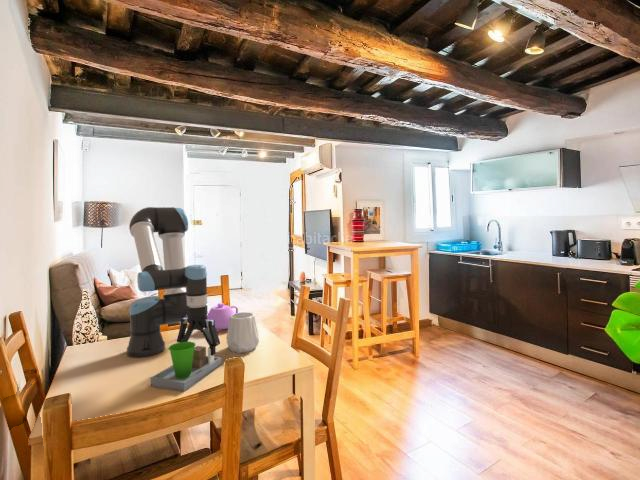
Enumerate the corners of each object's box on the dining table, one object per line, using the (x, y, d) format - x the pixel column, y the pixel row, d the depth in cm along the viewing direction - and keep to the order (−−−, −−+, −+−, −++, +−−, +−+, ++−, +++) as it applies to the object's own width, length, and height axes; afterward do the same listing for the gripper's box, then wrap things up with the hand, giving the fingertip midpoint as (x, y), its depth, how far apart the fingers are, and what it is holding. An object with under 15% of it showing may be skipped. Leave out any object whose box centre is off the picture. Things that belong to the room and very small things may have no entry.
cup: (201, 370, 127) (200, 342, 127) (188, 382, 118) (186, 351, 118) (179, 369, 129) (177, 341, 128) (164, 380, 120) (163, 350, 119)
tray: (150, 386, 118) (150, 377, 118) (192, 361, 139) (191, 353, 139) (184, 391, 114) (184, 382, 114) (222, 365, 135) (221, 357, 135)
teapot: (201, 337, 168) (200, 310, 167) (194, 329, 181) (193, 303, 180) (244, 329, 179) (243, 303, 179) (234, 322, 192) (234, 298, 192)
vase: (229, 356, 143) (228, 321, 142) (224, 345, 156) (223, 313, 155) (262, 351, 149) (261, 317, 148) (254, 341, 162) (254, 309, 161)
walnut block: (197, 363, 134) (197, 345, 134) (206, 364, 133) (205, 346, 133) (191, 367, 131) (190, 349, 130) (199, 368, 129) (199, 350, 129)
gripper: (165, 306, 131) (167, 362, 132) (217, 309, 124) (219, 369, 125) (178, 301, 138) (180, 354, 139) (228, 304, 131) (230, 361, 132)
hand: (198, 361), depth 132 cm, fingers open, 11 cm apart
